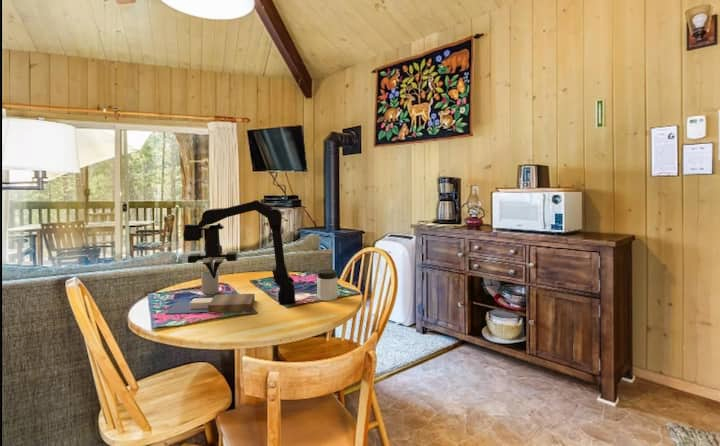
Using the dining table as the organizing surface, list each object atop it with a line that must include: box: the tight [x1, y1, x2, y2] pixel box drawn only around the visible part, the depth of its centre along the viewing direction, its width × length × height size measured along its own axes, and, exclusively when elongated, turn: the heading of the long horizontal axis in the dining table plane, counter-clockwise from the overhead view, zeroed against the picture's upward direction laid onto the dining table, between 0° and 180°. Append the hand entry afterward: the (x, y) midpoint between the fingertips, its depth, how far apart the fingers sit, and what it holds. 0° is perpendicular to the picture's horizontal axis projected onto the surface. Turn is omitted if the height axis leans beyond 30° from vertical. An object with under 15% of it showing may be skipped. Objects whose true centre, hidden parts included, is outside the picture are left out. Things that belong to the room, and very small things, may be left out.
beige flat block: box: [189, 297, 214, 309], centre depth 172 cm, size 8×6×2 cm
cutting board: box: [208, 293, 256, 313], centre depth 173 cm, size 16×14×3 cm
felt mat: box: [165, 301, 208, 315], centre depth 171 cm, size 16×14×1 cm
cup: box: [200, 270, 220, 295], centre depth 193 cm, size 7×10×9 cm
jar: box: [316, 268, 338, 302], centre depth 184 cm, size 9×8×12 cm
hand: (214, 278), depth 173 cm, fingers closed
